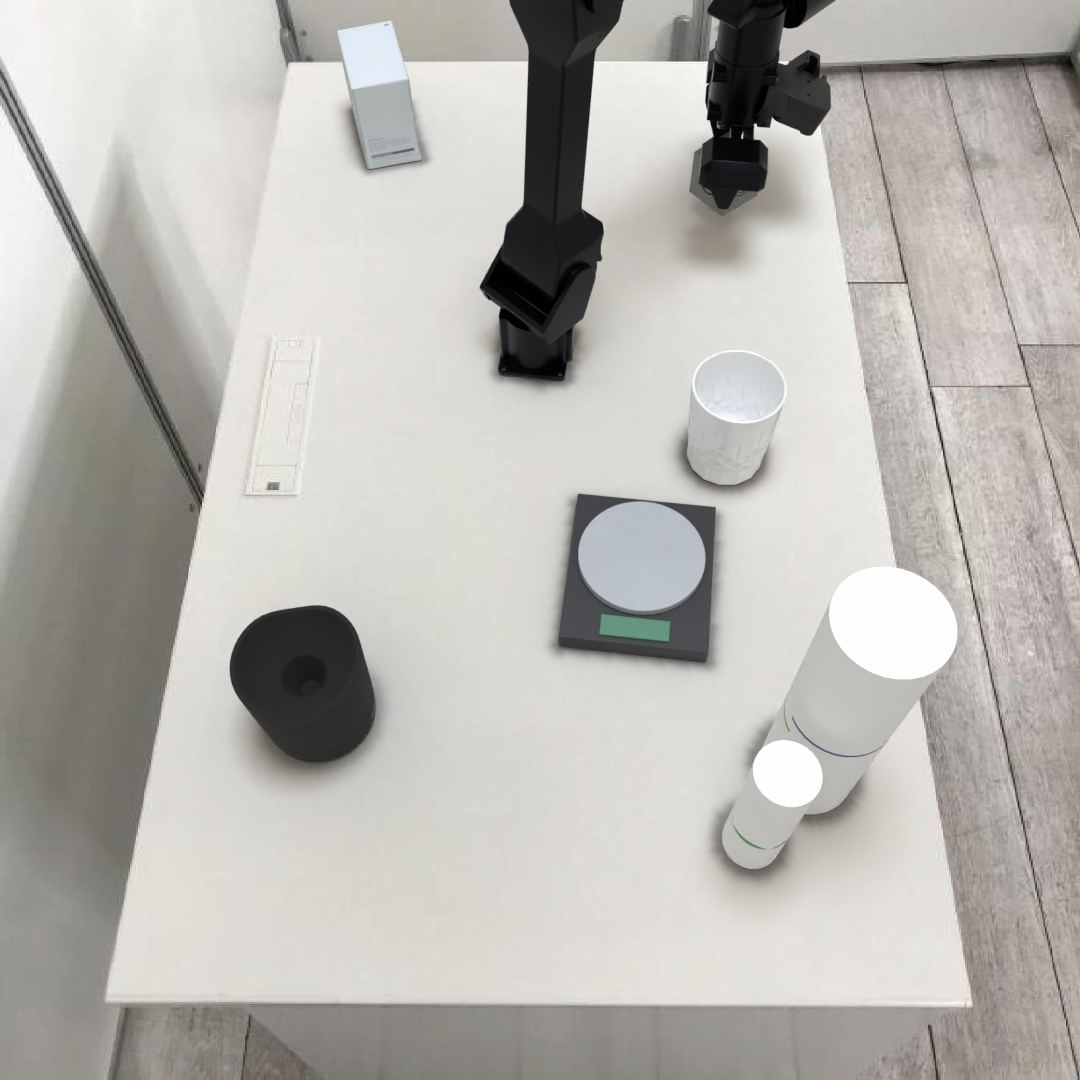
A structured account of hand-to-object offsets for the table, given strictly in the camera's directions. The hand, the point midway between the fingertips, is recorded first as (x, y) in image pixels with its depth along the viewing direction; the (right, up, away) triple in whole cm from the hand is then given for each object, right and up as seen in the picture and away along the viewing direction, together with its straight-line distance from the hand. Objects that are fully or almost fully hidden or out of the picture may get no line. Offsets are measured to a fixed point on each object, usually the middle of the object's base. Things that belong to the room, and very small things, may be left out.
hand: (724, 185), depth 111 cm
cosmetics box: (-37, +9, +10) cm, 39 cm away
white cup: (-2, -29, -14) cm, 32 cm away
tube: (-4, -59, -32) cm, 67 cm away
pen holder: (-37, -51, -26) cm, 68 cm away
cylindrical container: (+1, -55, -29) cm, 62 cm away
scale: (-11, -40, -20) cm, 46 cm away
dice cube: (0, -1, +1) cm, 1 cm away
